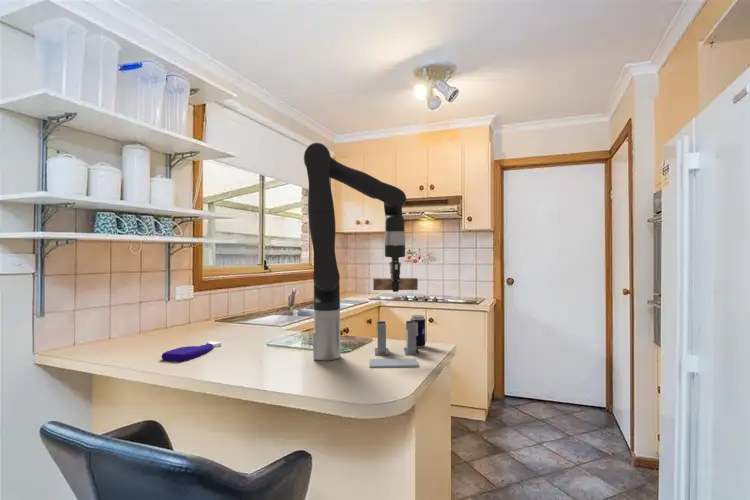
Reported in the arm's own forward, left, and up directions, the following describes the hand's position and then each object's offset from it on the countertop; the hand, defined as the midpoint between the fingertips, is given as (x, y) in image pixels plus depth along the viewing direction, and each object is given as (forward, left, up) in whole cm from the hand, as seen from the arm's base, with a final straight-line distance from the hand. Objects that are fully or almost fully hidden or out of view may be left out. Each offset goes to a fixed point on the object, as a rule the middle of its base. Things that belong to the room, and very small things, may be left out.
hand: (395, 290), depth 148 cm
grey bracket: (+6, +2, -23) cm, 24 cm away
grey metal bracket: (-5, +2, -23) cm, 24 cm away
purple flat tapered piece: (-75, +5, -24) cm, 79 cm away
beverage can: (+9, +10, -23) cm, 27 cm away
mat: (-2, -13, -23) cm, 27 cm away
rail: (0, 0, 0) cm, 0 cm away
